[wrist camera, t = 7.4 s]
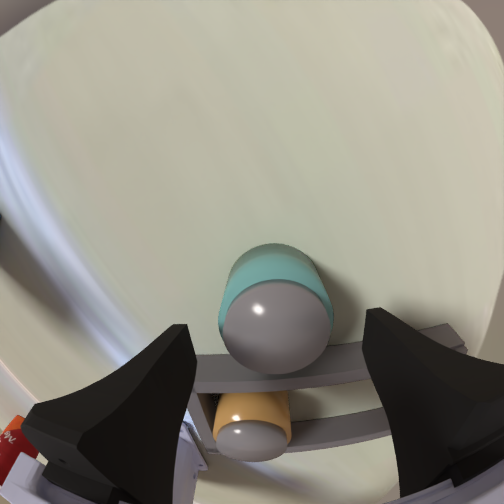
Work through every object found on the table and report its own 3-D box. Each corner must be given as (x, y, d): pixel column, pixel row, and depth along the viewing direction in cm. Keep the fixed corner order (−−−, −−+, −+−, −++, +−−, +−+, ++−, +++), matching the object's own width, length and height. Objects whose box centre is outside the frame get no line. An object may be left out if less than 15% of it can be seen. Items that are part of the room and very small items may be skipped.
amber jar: (289, 414, 19) (292, 461, 15) (225, 417, 19) (219, 463, 15) (287, 372, 17) (291, 424, 13) (213, 375, 18) (202, 426, 13)
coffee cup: (12, 403, 24) (-31, 467, 10) (54, 439, 25) (18, 508, 11) (10, 417, 26) (-25, 471, 12) (47, 447, 28) (17, 505, 13)
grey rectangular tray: (419, 403, 19) (430, 426, 16) (212, 430, 20) (207, 458, 17) (448, 323, 16) (468, 346, 13) (185, 354, 17) (174, 386, 14)
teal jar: (318, 320, 16) (334, 372, 12) (234, 327, 16) (226, 381, 12) (317, 238, 14) (339, 274, 10) (221, 248, 15) (205, 286, 10)
